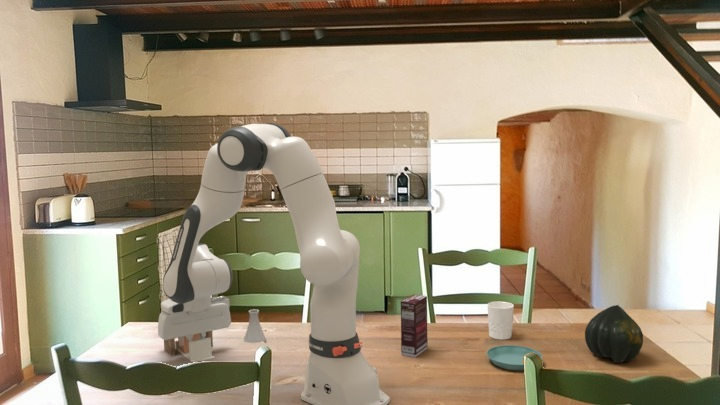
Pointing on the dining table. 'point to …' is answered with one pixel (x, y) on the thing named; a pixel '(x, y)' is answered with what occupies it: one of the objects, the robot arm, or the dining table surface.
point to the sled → (198, 350)
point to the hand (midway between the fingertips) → (196, 348)
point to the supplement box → (414, 325)
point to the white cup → (500, 319)
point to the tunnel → (170, 344)
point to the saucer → (509, 356)
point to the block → (186, 343)
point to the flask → (254, 329)
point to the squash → (614, 335)
